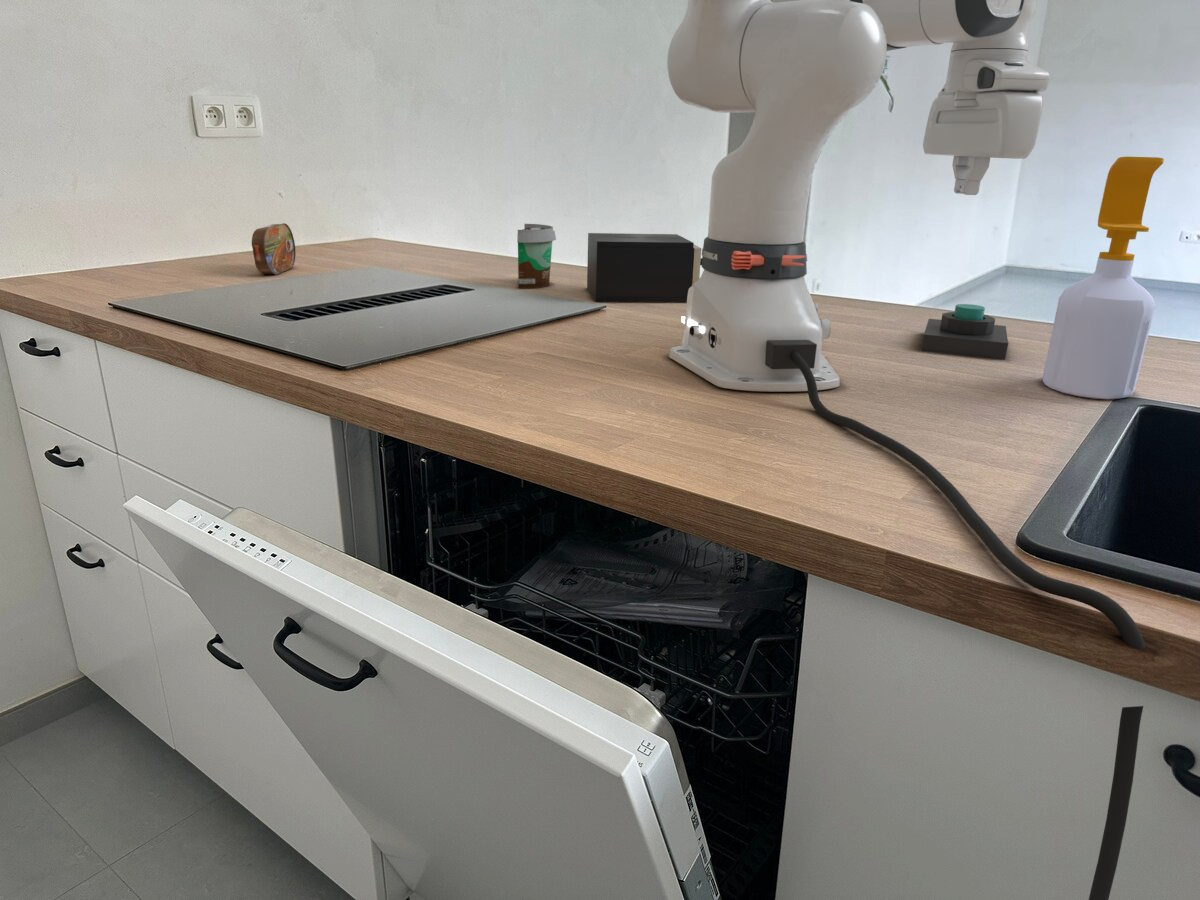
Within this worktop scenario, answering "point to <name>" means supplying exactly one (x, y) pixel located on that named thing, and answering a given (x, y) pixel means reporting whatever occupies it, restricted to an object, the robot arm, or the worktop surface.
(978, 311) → the button
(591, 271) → the cabinet
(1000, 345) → the control block
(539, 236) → the coffee cup
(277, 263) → the tin
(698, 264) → the drawer
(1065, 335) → the soap bottle
